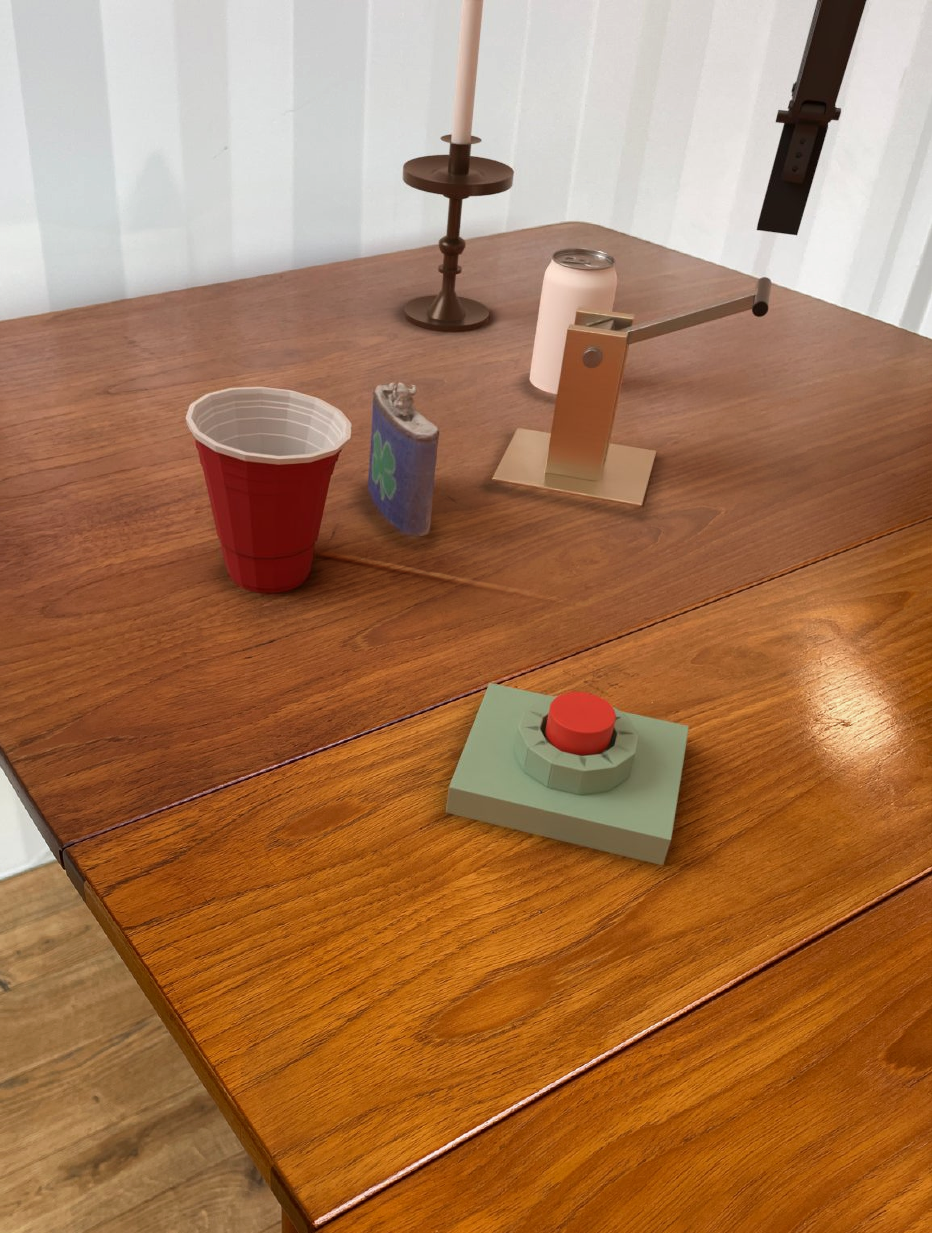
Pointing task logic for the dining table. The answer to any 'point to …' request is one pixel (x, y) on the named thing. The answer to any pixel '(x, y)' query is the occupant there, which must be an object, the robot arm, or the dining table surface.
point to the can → (568, 306)
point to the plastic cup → (267, 478)
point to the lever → (699, 314)
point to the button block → (570, 778)
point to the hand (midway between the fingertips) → (777, 229)
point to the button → (580, 723)
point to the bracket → (583, 423)
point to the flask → (402, 459)
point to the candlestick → (456, 189)
